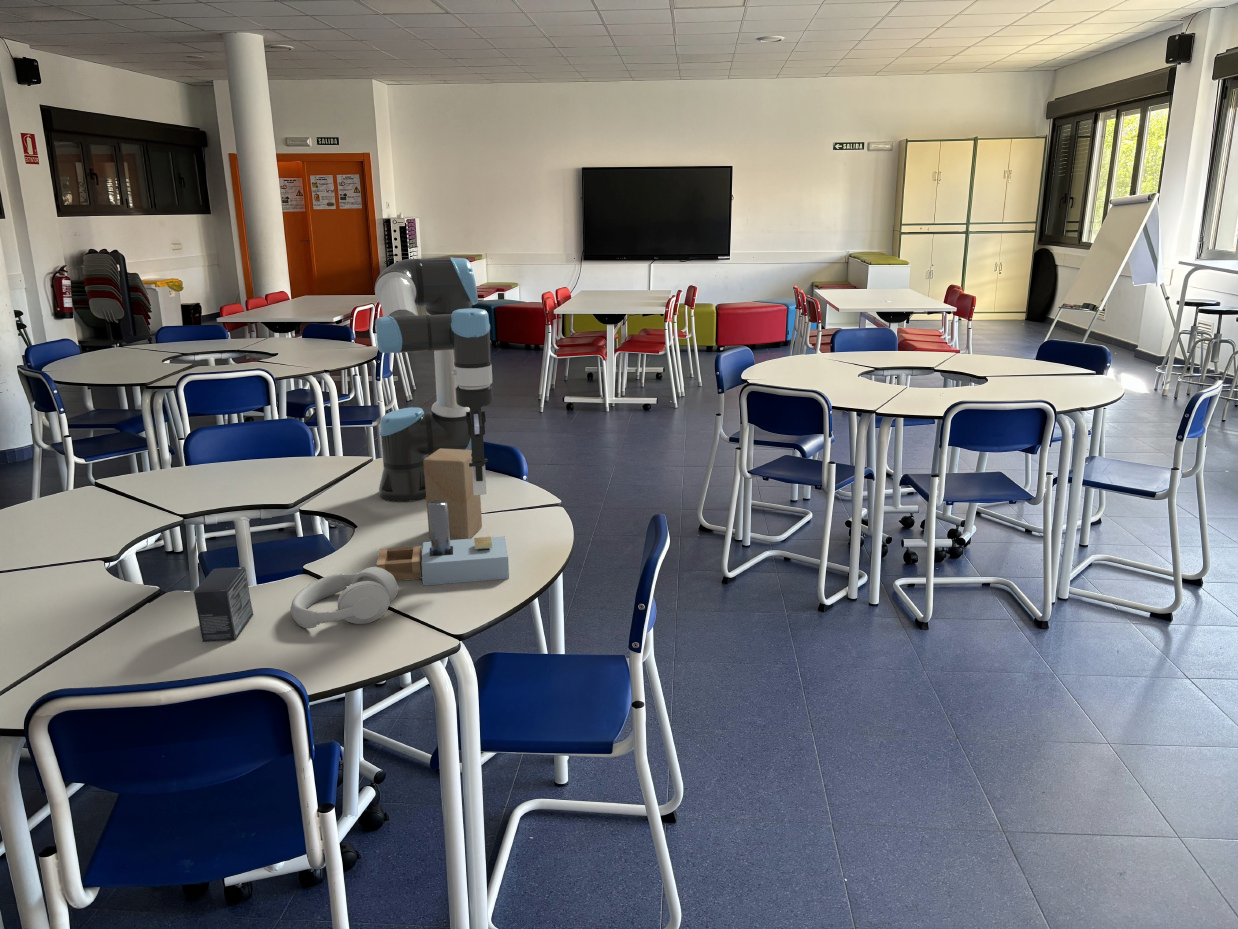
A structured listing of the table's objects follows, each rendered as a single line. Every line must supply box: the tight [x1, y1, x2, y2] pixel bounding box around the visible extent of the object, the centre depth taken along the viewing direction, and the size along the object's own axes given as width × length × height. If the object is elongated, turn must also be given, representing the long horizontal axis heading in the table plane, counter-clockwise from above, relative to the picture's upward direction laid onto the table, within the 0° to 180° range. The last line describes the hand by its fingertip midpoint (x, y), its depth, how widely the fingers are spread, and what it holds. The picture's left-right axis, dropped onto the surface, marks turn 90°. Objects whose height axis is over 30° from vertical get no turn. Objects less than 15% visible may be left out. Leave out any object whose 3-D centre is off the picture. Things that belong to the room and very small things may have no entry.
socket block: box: [421, 535, 510, 586], centre depth 189 cm, size 12×18×5 cm, turn 101°
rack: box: [375, 545, 423, 582], centre depth 188 cm, size 9×9×4 cm
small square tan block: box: [474, 536, 492, 551], centre depth 189 cm, size 4×4×6 cm
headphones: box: [290, 566, 399, 630], centre depth 170 cm, size 18×8×20 cm
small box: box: [193, 566, 254, 643], centre depth 163 cm, size 11×6×10 cm, turn 5°
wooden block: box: [423, 448, 483, 540], centre depth 208 cm, size 10×10×20 cm
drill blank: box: [428, 500, 451, 556], centre depth 186 cm, size 4×4×16 cm
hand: (480, 493), depth 185 cm, fingers closed
